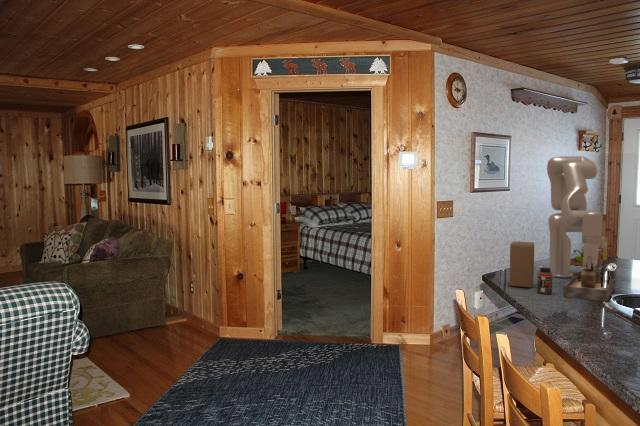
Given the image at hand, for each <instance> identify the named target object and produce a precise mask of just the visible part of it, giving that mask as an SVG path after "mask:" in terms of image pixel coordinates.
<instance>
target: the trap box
mask: <svg viewBox="0 0 640 426" xmlns="http://www.w3.org/2000/svg"><path fill="white" fill-rule="evenodd" d="M601 281H602V280H596V283H595V288H589V287H581V278H577V275H574V274H573V277H570V278H569V280H568V281H567V282H566V283H565V284H564V285H563V297H565V298H571V299H572V298H573V299H580V300H581V299H582V300H588V301H589V300H590V301H597V302H606V303H607V302H609V299H610V297H611V294H612V292H613V291H614V281H615V279H614V278H610V279H609V281H608V282H609V284H608V285H607V287H606V288H603V287H601Z"/></svg>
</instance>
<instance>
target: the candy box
mask: <svg viewBox="0 0 640 426" xmlns="http://www.w3.org/2000/svg"><path fill="white" fill-rule="evenodd" d="M608 239H609V238H608V236H602V240H601V244H598V261H600V260H601V261H606V260H607V259H608Z"/></svg>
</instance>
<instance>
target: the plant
mask: <svg viewBox="0 0 640 426" xmlns="http://www.w3.org/2000/svg"><path fill="white" fill-rule="evenodd" d="M580 250H581V251H580ZM580 250H578V249H575V250H573V251H572V253H573V258H571V257H570V266H572V265H574V266H573V267H578V266H583V251H584V246H583V247H581V248H580ZM576 252H578V253H579V254H577V255H575V254H576ZM574 253H575V254H574ZM600 265H603V266H604V263H603V262H602V261H600V260H597V265H596V266H599V267H601V266H600ZM585 266H586V267H585V268H587V264H586V265H585ZM596 266H595V267H596ZM596 268H597V267H596Z"/></svg>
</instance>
